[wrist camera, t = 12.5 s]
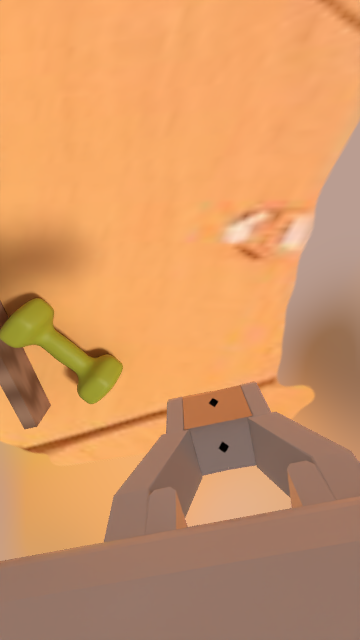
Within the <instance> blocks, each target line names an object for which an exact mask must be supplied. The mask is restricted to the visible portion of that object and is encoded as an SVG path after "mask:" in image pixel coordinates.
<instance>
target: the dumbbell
mask: <svg viewBox="0 0 360 640" xmlns="http://www.w3.org/2000/svg"><path fill="white" fill-rule="evenodd" d="M53 318H54V310H53V308H52V307H51V306H50V305H49V304H48V303H47V302H45V301H44V300H43V299H41V298H35V299H32V300H30V301H28V302H27V303H25V304H24V305H23V306H21V307H20V308H19V309H18V310H16V311H15V312H14V313H13V314H12V315H11V316H10V317H9V319H8V320H7V321H6V322H5V323H4V325H3V326H2V328H1V330H0V339H1V340H2V341H3V342H5V343H6V344H7V345H9V346H11V347H13V348H22V347H25V346H29V345H38V346H41V347H42V348H44V349H45V350H46V351H47V352H48V353H50V354H51V355H52V356H53V357H54V358H56V359H57V360H58V361H60V362H61V363H62V364H64V365H66V366H67V367H69V368H70V369H72V370H73V371H74V372H75V373H76V374H77V376H78V385H77V392H78V394H79V396H80V397H81V398H82V399H83V400H85V401H86V402H87V403H89V404H94V403H96V402H98V401H99V400H101V399H102V398H103V397H104V396H105V395H106V394H107V393H108V392H109V391H110V390H111V389H112V387H113V386H114V385H115V383H116V381H117V380H118V378H119V376H120V374H121V372H122V369H123V365H122V363H121V362H120V361H119V360H117V359H116V358H115V357H113V356H112V355H109V354H106V355H103V356H100V357H97V358H93V357H90V356H88V355H87V354H86V353H85V352H83V351H82V350H81V349H80V348H79V347H77V346H76V345H75V344H74V343H72V342H71V341H70V340H68V339H67V338H66V337H64V336H63V335H62V334H60V333H59V332H57V331H56V330H55V328H54V326H53Z"/></svg>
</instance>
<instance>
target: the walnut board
mask: <svg viewBox="0 0 360 640" xmlns="http://www.w3.org/2000/svg"><path fill="white" fill-rule="evenodd" d="M8 319H9V318H8V316H7V314H6V312H5V310H4V308H3V306H2V303H1V301H0V330H1V328H2V326H3V325H4V323H5V322H6V321H7V320H8ZM0 385H1V387H2V389H3V391H4V392H5V394H6V396H7V398H8V400H9V402H10V403H11V405H12V407H13V409H14V411H15V413H16V414H17V416H18V418H19V420H20V422H21V424H22V425H23V427H24V429H28V428H33V427H37V426H38V424H39V423H40V421H41V420H42V418H43V417H44V415H45V414H46V412H47V410H48V409H49V407H50V406H51V405H50V403H49V401H48V399H47V397H46V394H45V392H44V390H43V388H42V386H41V384H40V382H39V380H38V378H37V376H36V374H35V372H34V370H33V368H32V366H31V363H30V361H29V359H28V357H27V355H26V353H25V351H24V349H23V347H22V348H13V347H11V346H9V345H7V344H6V343H5V342H3V341H2V340H1V339H0Z"/></svg>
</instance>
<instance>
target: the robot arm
mask: <svg viewBox="0 0 360 640" xmlns="http://www.w3.org/2000/svg"><path fill="white" fill-rule="evenodd" d="M255 465H257V467H258V468H259V469H260V470H261V471H262V472H263V473H264V474H265V475H267V477H269V478H270V479H271V480H272V481H273V482H274V483H275V484H276V485H277V486H278V487H279V488H280V489H281V490H283V491H284V492H285V493H286V494H287V495H288V496H289V497H290V498H291V505H292V508H290V509H285V510H279V511H275V512H268V513H263V514H257V515H253V516H247V517H242V518H236V519H230V520H225V521H220V522H214V523H208V524H203V525H197V526H192V527H187V523H186V520H185V516H186V514H187V512H188V510H189V507H190V505H191V503H192V500H193V498H194V496H195V493H196V491H197V489H198V486H199V484H200V482H201V479H202V476H203V475H207V474H212V473H216V472H221V471H225V470H230V469H236V468H242V467H248V466H255ZM0 640H360V462H359V461H358V460H357V458H356V457H355V456H354V454H353V453H352V452H351V451H350V450H348V449H346V448H344V447H342V446H340V445H338V444H336V443H335V442H333V441H331V440H329V439H327V438H325V437H323V436H321V435H319V434H317V433H316V432H314V431H312V430H310V429H308V428H306V427H304V426H302V425H300V424H298V423H296V422H295V421H293V420H291V419H289V418H287V417H285V416H283V415H281V414H279V413H277V412H272V413H271V411H270V409H269V407H268V405H267V403H266V401H265V399H264V397H263V395H262V393H261V391H260V389H259V387H258V385H257V383H256V382H250V383H246V384H241V385H239V386H234V387H230V388H225V389H221V390H216V391H212V392H211V391H210V392H205V393H200V394H194V395H189V396H184V397H179V398H174V399H169V400H168V402H167V427H166V434H164V435H161V437H160V438H159V439H158V441H157V442H156V443H155V444H154V446H153V447H152V448H151V449H150V451H149V452H148V453H147V454H146V456H145V457H144V458H143V460H142V461H141V462H140V463H139V465H138V466H137V467H136V468H135V470H134V471H133V472H132V474H131V475H130V476H129V477H128V479H127V480H126V481H125V482H124V484H123V485H122V486H121V488H120V489H119V490H118V491H117V493H116V494H115V495H114V497H113V502H112V507H111V511H110V516H109V521H108V525H107V530H106V534H105V539H104V543H99V544H93V545H87V546H82V547H76V548H71V549H65V550H60V551H54V552H49V553H43V554H38V555H32V556H27V557H21V558H16V559H10V560H5V561H0Z"/></svg>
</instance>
